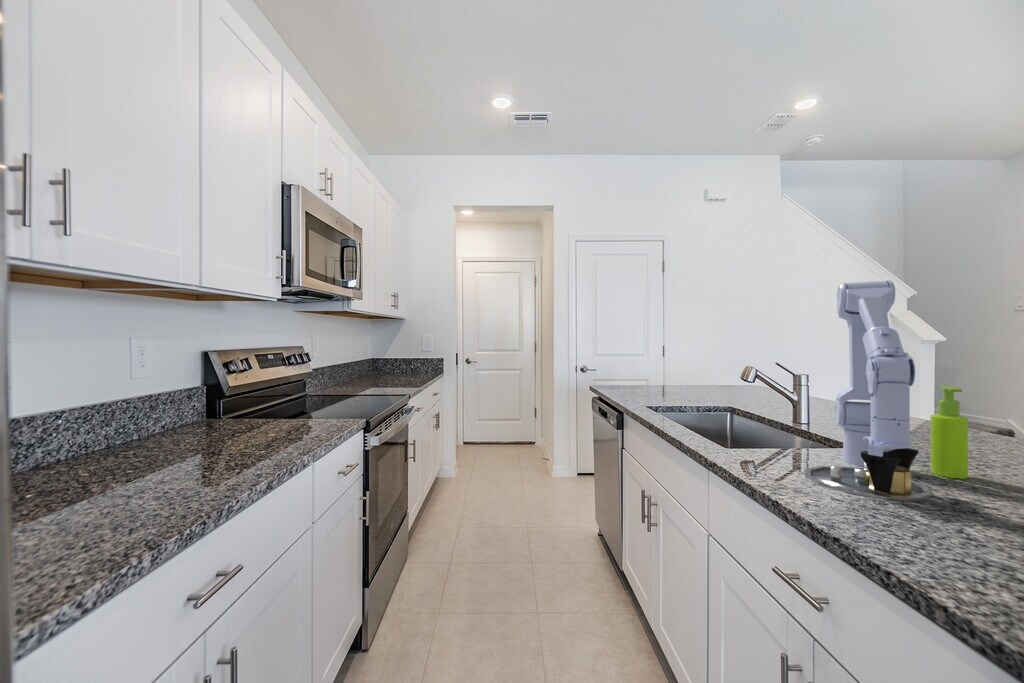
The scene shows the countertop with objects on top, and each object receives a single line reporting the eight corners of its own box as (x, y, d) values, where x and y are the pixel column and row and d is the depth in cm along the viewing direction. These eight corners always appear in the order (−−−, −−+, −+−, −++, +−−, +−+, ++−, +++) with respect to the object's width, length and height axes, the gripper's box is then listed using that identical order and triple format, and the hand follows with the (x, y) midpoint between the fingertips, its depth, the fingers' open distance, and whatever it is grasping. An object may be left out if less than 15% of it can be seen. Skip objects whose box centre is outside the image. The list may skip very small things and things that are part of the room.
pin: (833, 484, 90) (833, 465, 90) (843, 486, 89) (843, 467, 89) (828, 485, 90) (828, 466, 90) (838, 488, 88) (838, 468, 88)
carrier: (838, 467, 102) (838, 450, 102) (951, 495, 84) (951, 474, 84) (784, 479, 94) (784, 461, 94) (897, 512, 75) (897, 490, 75)
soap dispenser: (938, 478, 94) (938, 387, 94) (926, 469, 100) (926, 384, 100) (975, 482, 91) (975, 388, 91) (960, 473, 98) (960, 385, 98)
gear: (880, 484, 87) (880, 462, 87) (916, 493, 82) (916, 469, 82) (864, 488, 85) (863, 465, 85) (900, 498, 80) (900, 473, 80)
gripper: (878, 411, 91) (878, 475, 91) (848, 418, 83) (848, 488, 83) (923, 416, 85) (923, 485, 85) (895, 424, 77) (895, 500, 77)
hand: (889, 487), depth 83 cm, fingers open, 7 cm apart
